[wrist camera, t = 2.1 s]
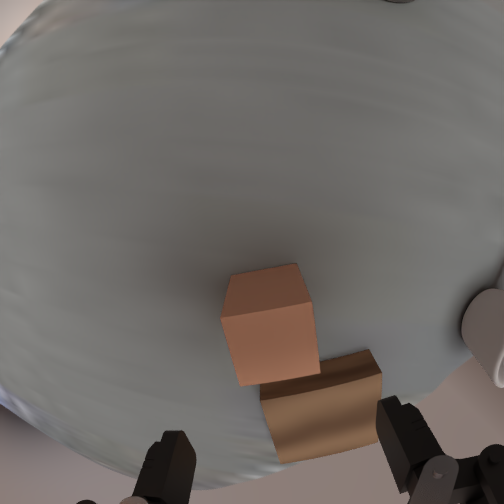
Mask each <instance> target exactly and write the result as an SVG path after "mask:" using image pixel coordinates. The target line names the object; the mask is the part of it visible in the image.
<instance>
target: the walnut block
mask: <svg viewBox="0 0 504 504" xmlns="http://www.w3.org/2000/svg"><path fill="white" fill-rule="evenodd" d="M319 363H320V373H319V374H314V375H309V376H304V377H298V378H293V379H287V380H281V381H275V382H269V383H262V384H260V402H261V405H262V408H263V411H264V414H265V418H266V421H267V424H268V427H269V430H270V433H271V436H272V439H273V442H274V445H275V448H276V451H277V454H278V457H279V460H280V463H281V464H284V463H291V462H297V461H303V460H308V459H313V458H318V457H323V456H327V455H332V454H336V453H341V452H344V451H348V450H352V449H356V448H360V447H363V446H367V445H370V444H373V443H376V442H378V435H377V432H376V412H377V402H378V400H381V392H382V372H381V370H380V368H379V366H378V365H377V363H376V361H375V359H374V357H373V356H372V354H371V352H370V350H369V349H368V350H364V351H361V352H357V353H353V354H350V355H346V356H342V357H338V358H334V359H330V360H325V361H321V362H319Z"/></svg>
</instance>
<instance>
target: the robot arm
mask: <svg viewBox="0 0 504 504" xmlns="http://www.w3.org/2000/svg"><path fill="white" fill-rule="evenodd" d="M387 1H392V2H402V3H405V2H411V1H413V0H387ZM376 432H377V435H378V438H379V441H380V443H381V445H382V448H383V451H384V453H385V455H386V458H387V461H388V463H389V466H390V468H391V471H392V474H393V476H394V479H395V482H396V484H397V487H398V490H399V492H400V494H401V493H404V492H406V491H408V493H409V495H410V499H409V501H408V504H458V503H460V504H504V446H502V445H499V444H494V445H490V446H488V447H486V448H485V449H484V450H483V451H482V452H481V454H480V455H478V456H474V457H469V458H464V459H454V458H452V457H450V456H447V455H446V454H445V453H444V452H443V451H442V449H441V447H440V445H439V444H438V442H437V440H436V438H435V437H434V435H433V433H432V432H431V430H430V428H429V427H428V425H427V423H426V421H425V420H424V418H423V416H422V415H421V413H420V411H419V409H417V408H416V407H415V406H413V405H412V404H410V403H407V404H404V405H401V403H400V401H399V399H398V398H397V396H395V395H394V396H391V397H388V398H384V399H381V400H378V402H377V412H376ZM142 467H143V468H142V469H141V471H140V474H139V477H138V480H137V483H136V486H135V489H134V492H133V494H132V496H131V497H128V498H125V499H124V500H122V501H121V502H120V504H188V503H189V498H190V492H191V488H192V482H193V477H194V472H195V467H196V453H195V451H194V449H193V447H192V445H191V443H190V442H189V440H188V438H187V436H186V434H185V433H184V431H182V430H180V431H165V432H164V433H163V436H162V439H161V442H155V443H154V444H153V445H152V446H151V447H150V448H149V449H148V452H147V454H146V457H145V461H144V463H143V466H142ZM77 504H96V503H95V502H93V501H91V500H82V501H80V502H78V503H77Z"/></svg>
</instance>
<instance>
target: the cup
mask: <svg viewBox="0 0 504 504" xmlns="http://www.w3.org/2000/svg"><path fill="white" fill-rule="evenodd" d="M461 332H462V337H463V340H464V342H465V344H466V345H467V347H468V348H469V350H470V351H471V352H472V354H473V355H474V356H475V358H476V359H477V360H478V362H479V363H480V365H481V366H482V367H483V369H484V370H485V372H486V373H487V374H488V376H489V377H490V379H491V380H492V381H493V383H494V384H495V385H496V386H497V387H500V388H504V290H499V289H487V290H485V291H483V292H481V293H480V294H478V295H477V296H476V297H475V298H474V299H473V301H472V302H471V303H470V305H469V306H468V308H467V310H466V312H465V314H464V317H463V321H462V327H461Z"/></svg>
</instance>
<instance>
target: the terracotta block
mask: <svg viewBox="0 0 504 504" xmlns="http://www.w3.org/2000/svg"><path fill="white" fill-rule="evenodd" d="M220 319H221V322H222V326H223V330H224V333H225V337H226V340H227V344H228V347H229V350H230V354H231V357H232V361H233V364H234V367H235V371H236V374H237V377H238V381H239V384H240V386H247V385H255V384H262V383H269V382H275V381H281V380H287V379H293V378H298V377H304V376H309V375H314V374H319V373H320V363H319V354H318V345H317V337H316V329H315V321H314V313H313V306H312V301H311V298H310V295H309V293H308V290H307V288H306V285H305V283H304V281H303V278H302V276H301V273H300V271H299V268H298V266H297V263H294V264H289V265H284V266H279V267H273V268H268V269H263V270H257V271H252V272H247V273H241V274H236V275H231V278H230V282H229V286H228V290H227V293H226V297H225V301H224V305H223V309H222V313H221V317H220Z"/></svg>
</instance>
